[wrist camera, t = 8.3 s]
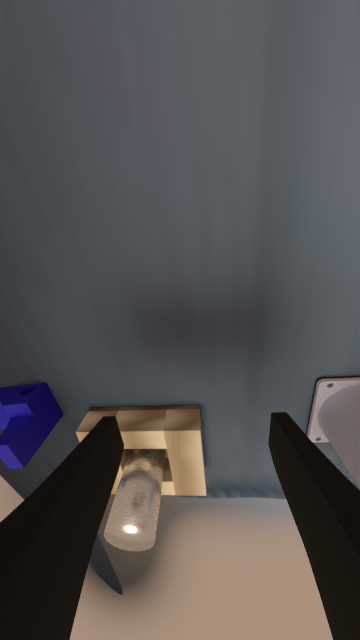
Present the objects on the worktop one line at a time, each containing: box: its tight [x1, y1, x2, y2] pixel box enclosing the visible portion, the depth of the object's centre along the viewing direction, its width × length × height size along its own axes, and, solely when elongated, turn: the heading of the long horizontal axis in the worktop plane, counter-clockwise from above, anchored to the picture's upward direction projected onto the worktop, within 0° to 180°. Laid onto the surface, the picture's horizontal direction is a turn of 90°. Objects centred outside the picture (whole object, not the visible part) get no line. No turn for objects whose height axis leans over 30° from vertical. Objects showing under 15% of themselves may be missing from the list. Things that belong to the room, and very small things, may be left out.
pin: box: [104, 449, 167, 551], centre depth 20 cm, size 4×4×8 cm
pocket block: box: [76, 405, 206, 496], centre depth 22 cm, size 12×10×3 cm
